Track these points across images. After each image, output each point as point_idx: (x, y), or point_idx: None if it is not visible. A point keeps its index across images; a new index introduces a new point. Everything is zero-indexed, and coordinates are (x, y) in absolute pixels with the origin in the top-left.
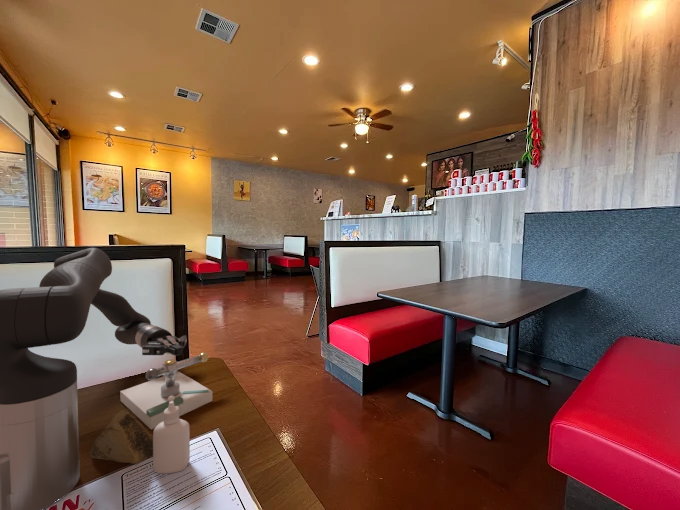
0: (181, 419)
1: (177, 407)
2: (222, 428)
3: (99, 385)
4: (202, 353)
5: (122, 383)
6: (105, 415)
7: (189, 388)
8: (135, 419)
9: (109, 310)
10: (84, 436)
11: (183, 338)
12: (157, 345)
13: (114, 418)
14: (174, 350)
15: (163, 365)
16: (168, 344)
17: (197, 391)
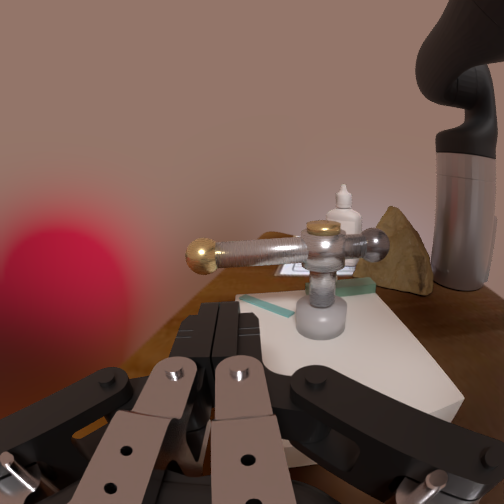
0: (333, 210)
1: (337, 193)
2: (271, 273)
3: None
4: (206, 238)
5: None
6: (462, 371)
7: (268, 322)
8: (382, 216)
9: None
10: (467, 328)
11: (32, 413)
12: (354, 423)
13: (408, 222)
14: (251, 315)
15: (343, 231)
16: (238, 386)
17: (262, 302)
